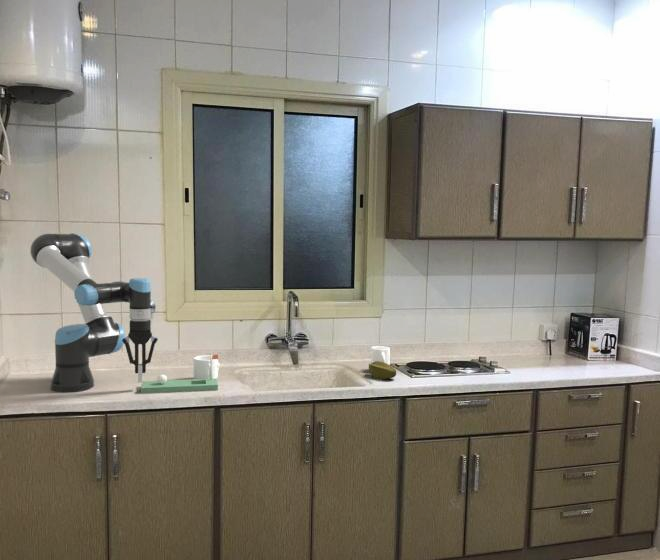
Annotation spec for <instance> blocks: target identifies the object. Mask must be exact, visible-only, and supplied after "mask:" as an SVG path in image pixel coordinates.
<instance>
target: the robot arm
mask: <svg viewBox="0 0 660 560" xmlns="http://www.w3.org/2000/svg"><path fill="white" fill-rule="evenodd" d="M78 234H79V233H44V234H41V235H39V236H37V237H36V238H35V239H34V240H33V241H32V243H31V245H30V256H31V258H32V260H33V261H34V262H35V263H36V264H37V265H38V266H39V267H40V268H42V269H43V268H44V269H47V270H48V271H49V272H50V273H52V274H53V275H54V276H55V277H57V278H58V279H59V280H60V281H61V282H62V283H63V284H65V285H66V286H67V287H68V288H69V289H70V290H71V291H73V294H74V299H75V301H76V303H77V305H78V308H79V310H80V312H81V316H82V318H83V320H84V323H76V324H69V325H64V326H62V327H60V328H57V330H56V331H55V334H54V349H55V350H54V352H55V353H54V354H55V370H54V372H53V375H52V379H51V381H50V390H52V392H53V391H54V392H60V393H73V392H81V391H86V390H89V389H92V388H94V386H95V379H94V376H93V374H92V371H91V369H90V364H89V363H90V358H91V357H98V356H103V355H104V356H105V355H111V354H114V353H117V352H119V351H120V350H121V349H122V348H123V346H125V350H126V353H127V357H128V361H129V364H130V365H131V364H132V365H134V373H135V374H137V382H138V383H142V381H143V380H144V378H143V376H144V375H143V374H145V373H146V371H147V370H146V369H147V368H146V367H147V366H146V365H147V364H150V363H151V360H152V357H153V353H154V350H155V344H156V343H157V342H158V339H159V337H157V336H155V335H153V333H152V325H151V317H152V314H151V312H152V310H151V309H152V308H151V302H152V301H151V299H152V298H151V297H152V296H151V291H152V289H151V280H150V279H149V278H144V277H143V278H142V277H136V278H135V277H134V278H130V279H129V282H127V281H126V282H124V281H113V282H105V283H103V282H102V283H97V282H96V281H95V280H94V279H93V276H92V273H91V270H90V268H89V265H88V264H89V262H90V259H91V257H92V245H91V243H90V241H89V239H88V238H87V237H86V236H85V237H84V235H83V236H82V234H80V235H78ZM89 258H90V259H89ZM115 303H128V304H129V319H130V320H129V332H128V335H127V336H126V335H125V334H126V333H125V330H124V329H125V328H124V327H123V325H121V324H120V323H119V322H115V321H114V319H113V317H112V316H111V315H108V314H107V312H106V309H105V306H104V304H115ZM130 341H131V342H132V343H133V344H134V356H133V353H132V349H131V347H130ZM149 341H151V345H150V348H149V353H148V355H147V354H146V353H147V351H146V350H147V349H146V347H147V346H146V344H147V343H148V342H149ZM139 345H141V363H140V361H139V357H140V356H139V355H140V354H139Z"/></svg>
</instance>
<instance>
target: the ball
mask: <svg viewBox="0 0 660 560" xmlns="http://www.w3.org/2000/svg"><path fill="white" fill-rule="evenodd" d="M167 380H168V377H167V375H165V374H159V375H158V377H157V380H156V381H158V382H159V383H160V384H164V383H166V382H167Z"/></svg>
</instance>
